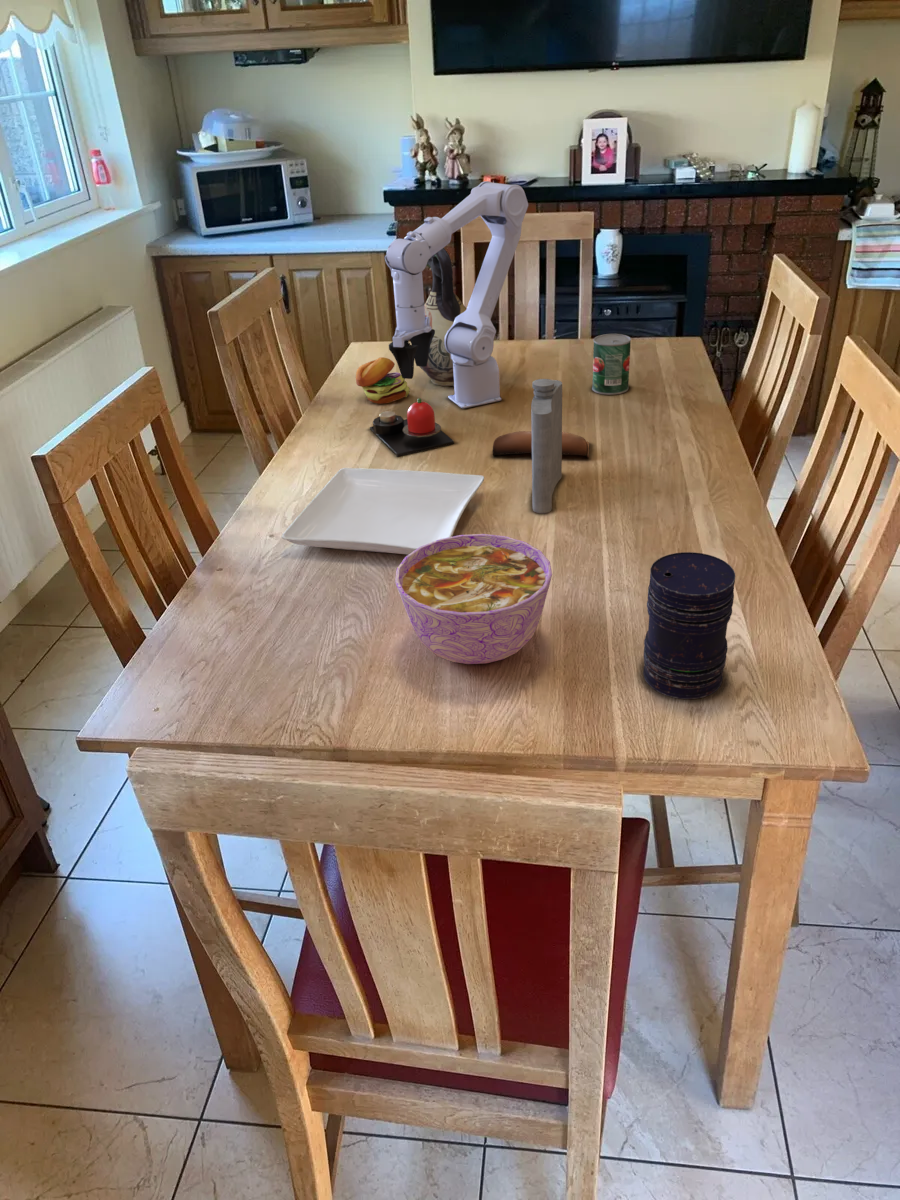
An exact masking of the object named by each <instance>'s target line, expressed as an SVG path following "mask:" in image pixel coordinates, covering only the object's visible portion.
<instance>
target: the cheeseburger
mask: <svg viewBox="0 0 900 1200" xmlns="http://www.w3.org/2000/svg"><path fill="white" fill-rule="evenodd" d="M394 367H395V362H394V361H393V360H391V359H390V358H388V357H385V356H380V357H378V358H377V359H374V360H370V361H368V362H365V363H364V364H361V365H360V366H358V368H357V369H356V371H355V383H356V385H357V386H358V387H361V388H362V390H363V392H364V395H366V398H367V400H368V401H369V402H371V403H374V404H378V405H382V404H389V403H392V402H395V401H398V400H401V399H403V398H407V397H408V396H409V394H410V392H411V391H410V386H408V382H407V381H406V379H405V378H402V376H401V373H400V372H391V371H392V370H393V369H394Z"/></svg>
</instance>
